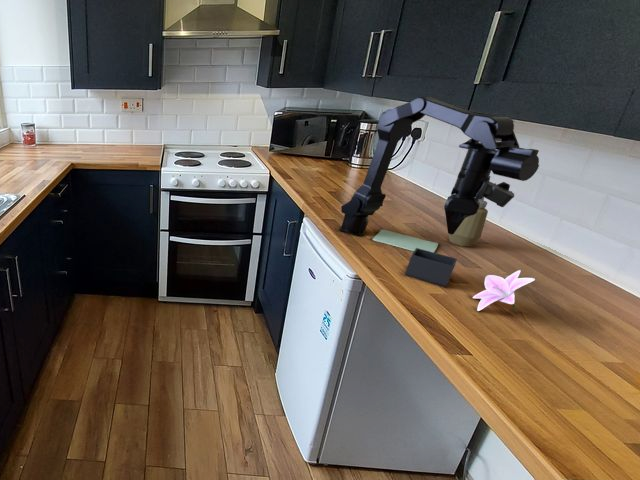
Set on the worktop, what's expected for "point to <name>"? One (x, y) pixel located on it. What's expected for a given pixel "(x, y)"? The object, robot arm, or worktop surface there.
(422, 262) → the bin
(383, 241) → the mat
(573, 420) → the worktop surface
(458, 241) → the squeeze bottle
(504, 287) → the lily
